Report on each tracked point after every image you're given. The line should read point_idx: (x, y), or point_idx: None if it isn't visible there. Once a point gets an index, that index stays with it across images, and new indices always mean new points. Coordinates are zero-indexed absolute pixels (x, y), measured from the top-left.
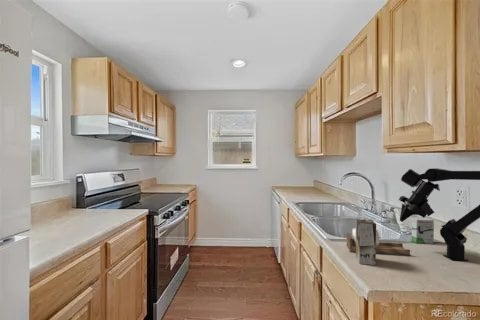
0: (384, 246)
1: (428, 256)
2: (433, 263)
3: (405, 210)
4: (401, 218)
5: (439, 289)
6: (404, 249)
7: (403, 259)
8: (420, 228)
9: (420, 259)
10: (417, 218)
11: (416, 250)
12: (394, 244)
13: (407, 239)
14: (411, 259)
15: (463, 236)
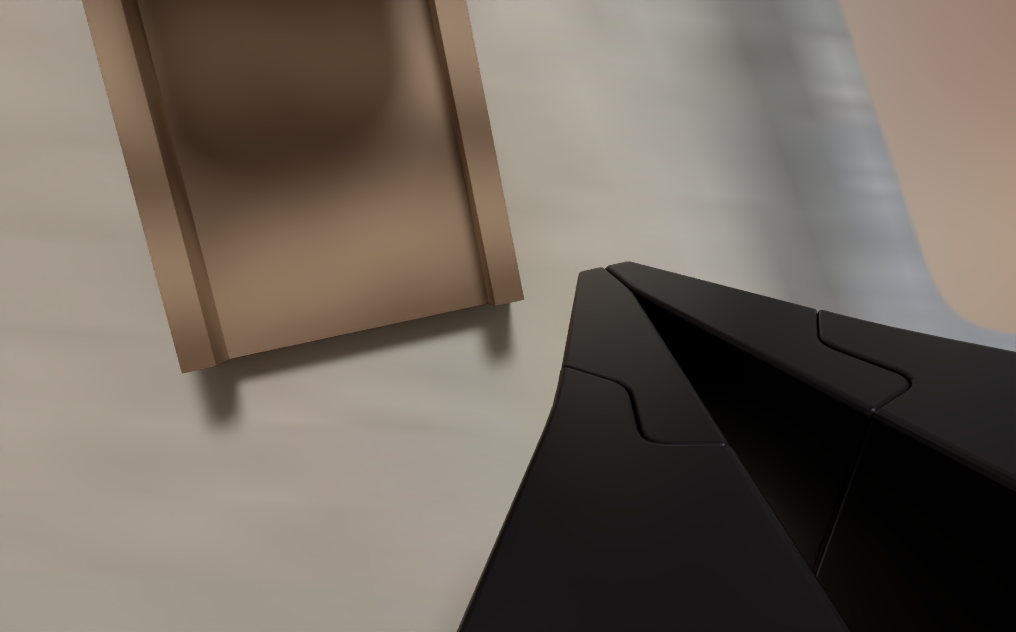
0: (418, 82)
1: (299, 552)
2: (10, 588)
3: (536, 575)
4: (575, 309)
5: None
6: (185, 306)
7: (5, 278)
8: None
9: (116, 465)
10: None
11: (504, 445)
12: (472, 204)
13: None
14: (59, 368)
15: None
